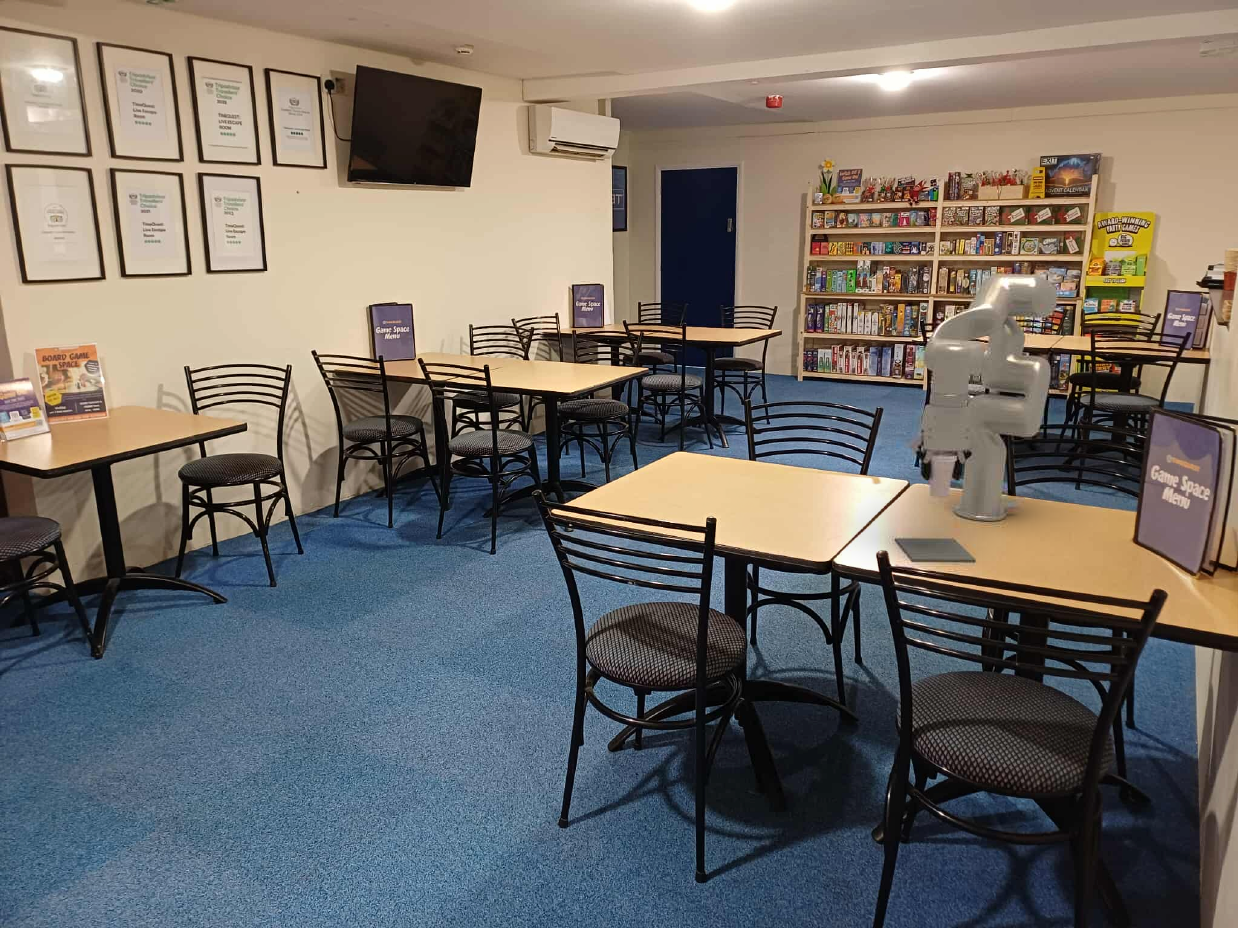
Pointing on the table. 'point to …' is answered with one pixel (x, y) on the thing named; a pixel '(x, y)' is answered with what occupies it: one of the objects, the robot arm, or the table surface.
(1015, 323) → the robot arm
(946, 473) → the white drink cup
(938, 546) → the coaster mat
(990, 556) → the table surface
